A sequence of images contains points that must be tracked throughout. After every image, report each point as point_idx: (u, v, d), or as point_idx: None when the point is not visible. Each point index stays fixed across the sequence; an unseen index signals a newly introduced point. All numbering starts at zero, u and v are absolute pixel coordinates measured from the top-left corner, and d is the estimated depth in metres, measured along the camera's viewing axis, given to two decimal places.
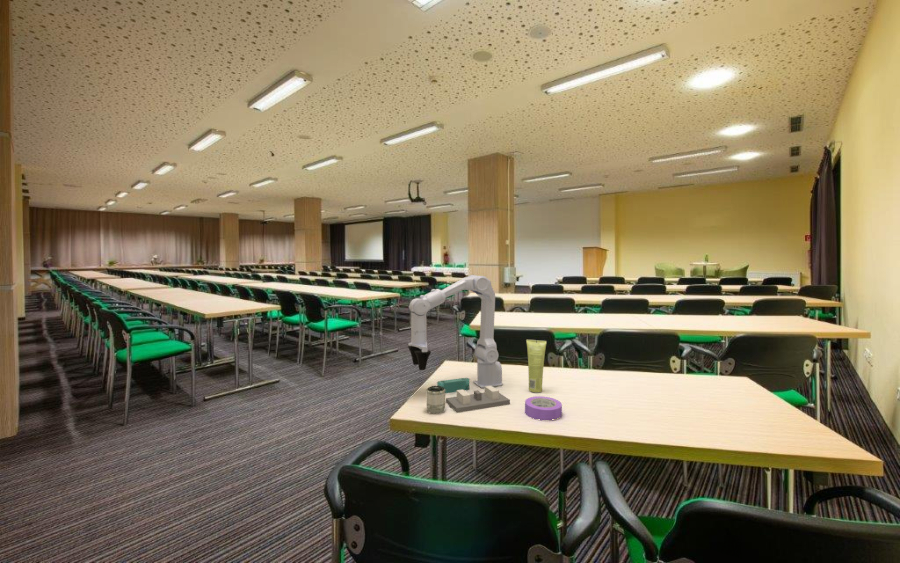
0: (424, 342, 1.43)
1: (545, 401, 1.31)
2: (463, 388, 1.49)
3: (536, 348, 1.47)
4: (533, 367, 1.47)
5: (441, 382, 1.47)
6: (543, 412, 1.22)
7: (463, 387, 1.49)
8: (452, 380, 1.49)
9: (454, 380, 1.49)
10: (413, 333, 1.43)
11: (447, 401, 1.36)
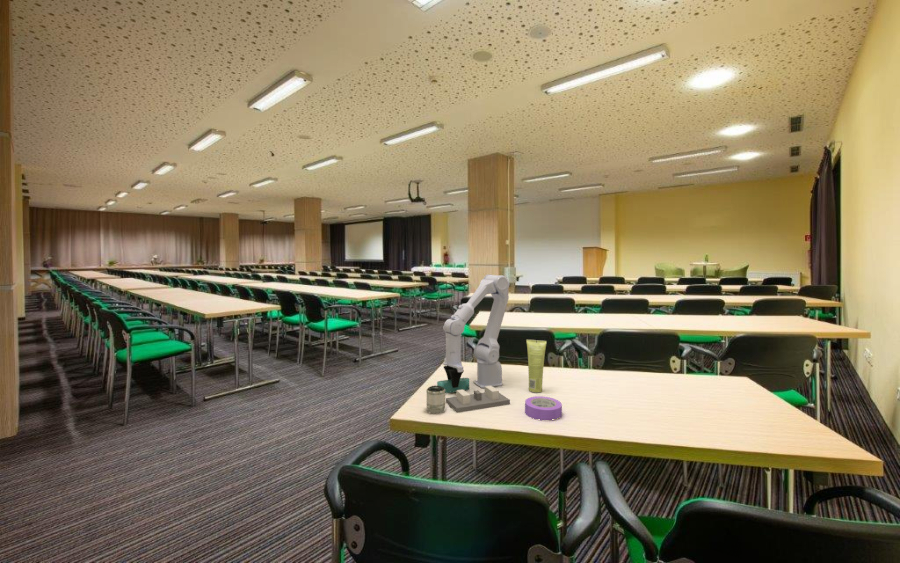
0: (459, 362, 1.47)
1: (545, 401, 1.31)
2: (463, 388, 1.49)
3: (536, 348, 1.47)
4: (533, 367, 1.47)
5: (441, 382, 1.47)
6: (543, 412, 1.22)
7: (463, 387, 1.49)
8: None
9: None
10: (448, 353, 1.46)
11: (447, 401, 1.36)
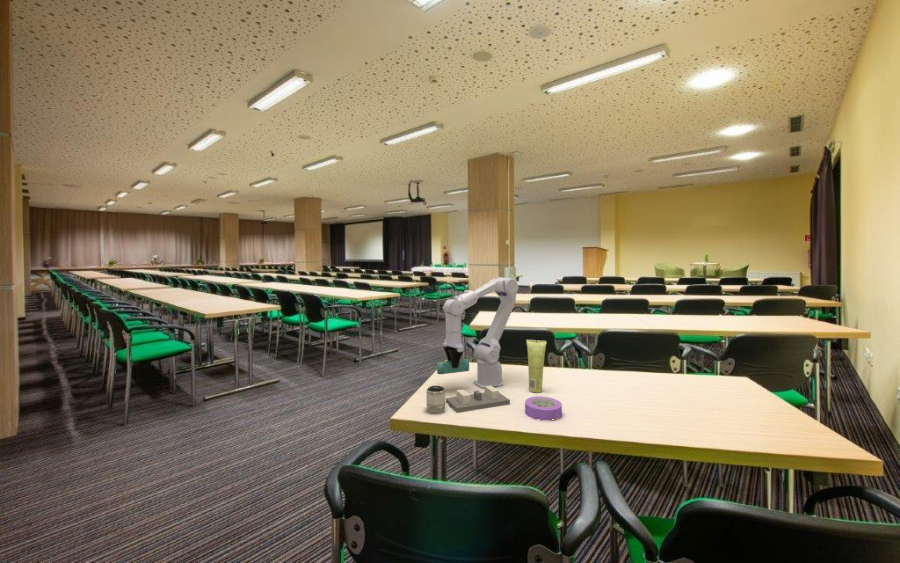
0: (459, 342, 1.46)
1: (545, 401, 1.31)
2: (463, 369, 1.49)
3: (536, 348, 1.47)
4: (533, 367, 1.47)
5: (441, 362, 1.46)
6: (543, 412, 1.22)
7: (463, 368, 1.49)
8: None
9: None
10: (448, 333, 1.46)
11: (447, 401, 1.36)
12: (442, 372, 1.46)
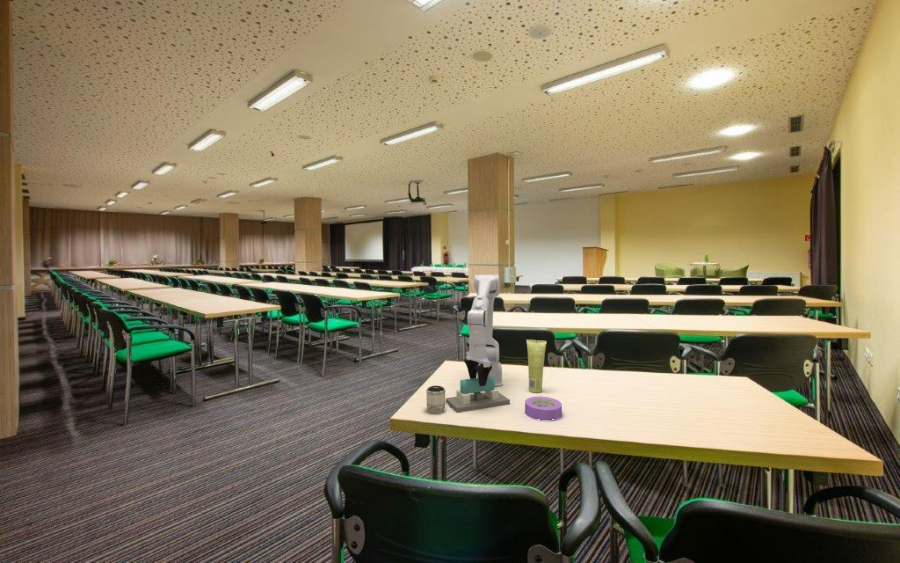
0: (484, 356, 1.34)
1: (545, 401, 1.31)
2: (488, 387, 1.36)
3: (536, 348, 1.47)
4: (533, 367, 1.47)
5: (464, 381, 1.34)
6: (543, 412, 1.22)
7: (488, 386, 1.36)
8: (476, 379, 1.36)
9: None
10: (472, 346, 1.33)
11: (447, 401, 1.36)
12: (466, 391, 1.33)
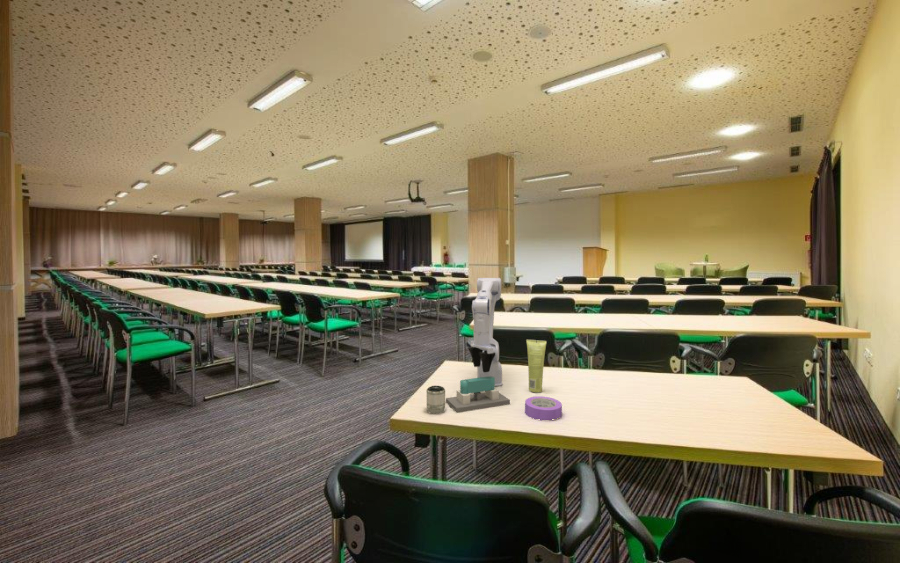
0: (488, 343, 1.39)
1: (545, 401, 1.31)
2: (488, 387, 1.36)
3: (536, 348, 1.47)
4: (533, 367, 1.47)
5: (464, 381, 1.34)
6: (543, 412, 1.22)
7: (488, 386, 1.36)
8: (476, 379, 1.36)
9: (478, 379, 1.36)
10: (476, 334, 1.39)
11: (447, 401, 1.36)
12: (466, 391, 1.33)
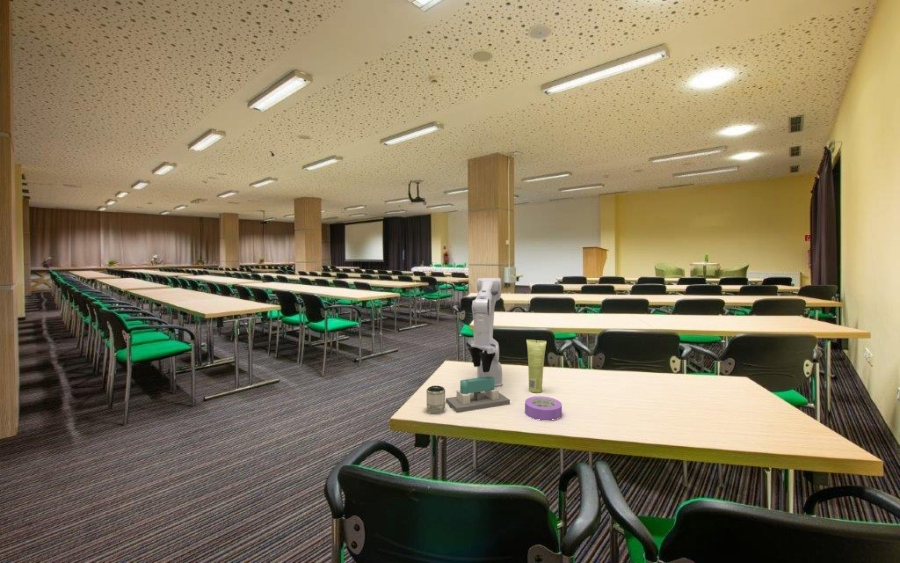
0: (488, 343, 1.39)
1: (545, 401, 1.31)
2: (488, 387, 1.36)
3: (536, 348, 1.47)
4: (533, 367, 1.47)
5: (464, 381, 1.34)
6: (543, 412, 1.22)
7: (488, 386, 1.36)
8: (476, 379, 1.36)
9: (478, 379, 1.36)
10: (476, 334, 1.39)
11: (447, 401, 1.36)
12: (466, 391, 1.33)
